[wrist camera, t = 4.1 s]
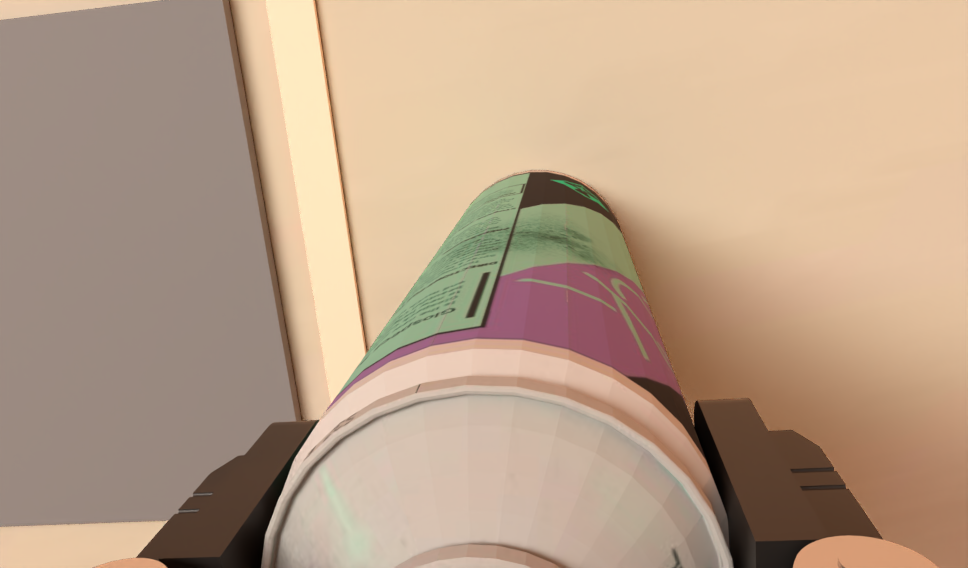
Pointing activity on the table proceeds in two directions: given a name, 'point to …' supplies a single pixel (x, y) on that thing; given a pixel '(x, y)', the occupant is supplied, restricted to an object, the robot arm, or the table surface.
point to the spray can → (510, 412)
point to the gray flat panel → (152, 255)
